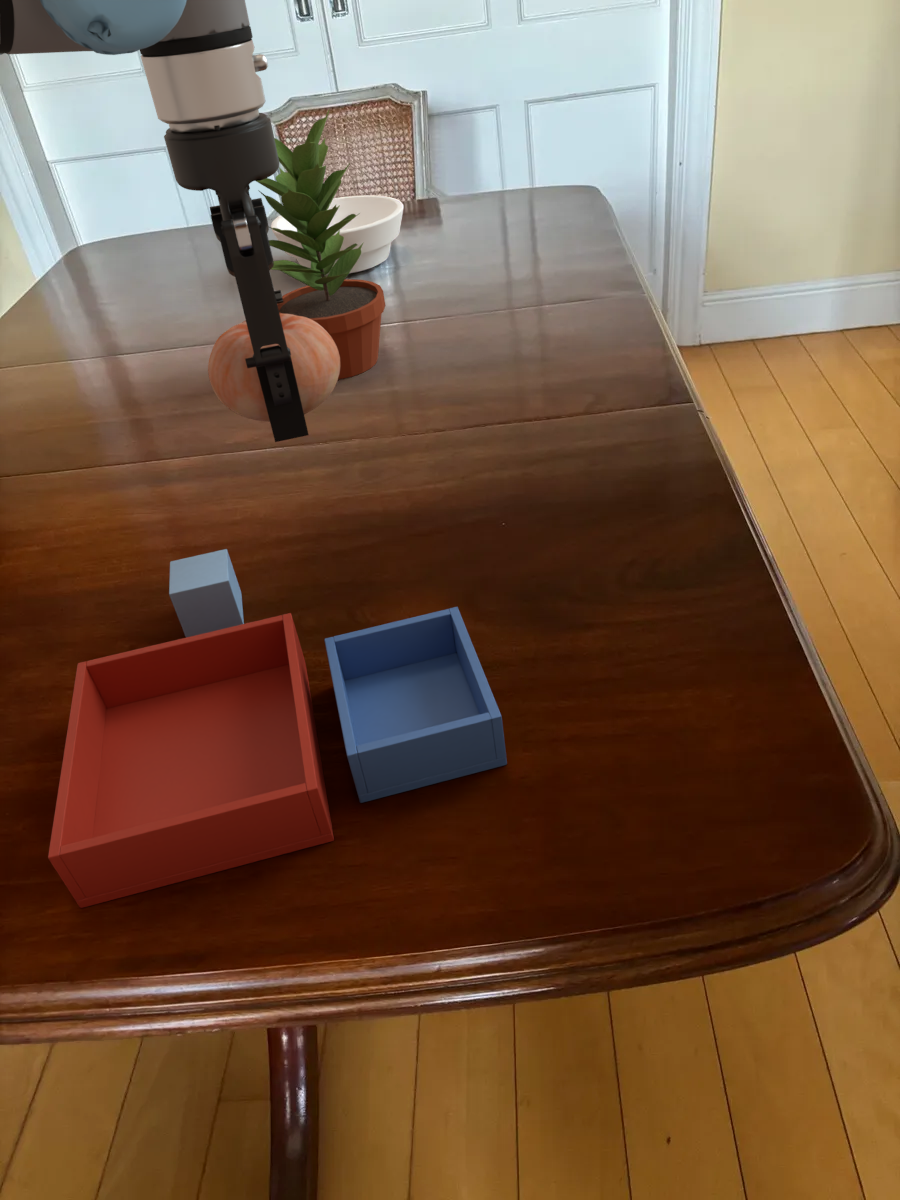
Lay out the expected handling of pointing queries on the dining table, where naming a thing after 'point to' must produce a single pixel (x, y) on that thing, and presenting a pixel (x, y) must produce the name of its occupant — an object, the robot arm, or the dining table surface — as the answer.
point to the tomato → (241, 384)
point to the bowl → (358, 228)
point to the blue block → (205, 593)
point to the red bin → (188, 762)
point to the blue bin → (414, 704)
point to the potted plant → (324, 256)
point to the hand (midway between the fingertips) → (285, 407)
